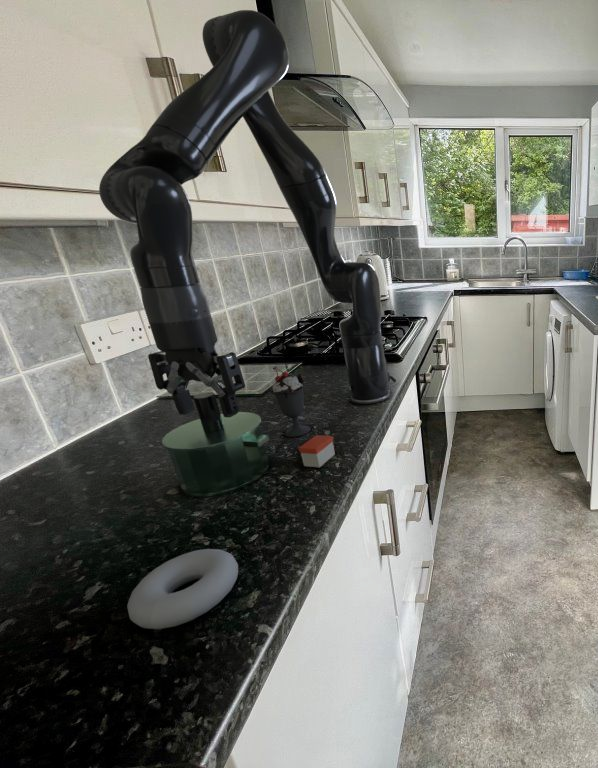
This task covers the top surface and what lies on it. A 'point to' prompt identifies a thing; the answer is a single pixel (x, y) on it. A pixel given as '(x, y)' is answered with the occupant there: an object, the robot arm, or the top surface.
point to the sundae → (290, 400)
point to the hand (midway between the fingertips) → (209, 414)
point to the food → (317, 451)
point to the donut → (167, 609)
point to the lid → (210, 427)
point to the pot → (222, 466)
